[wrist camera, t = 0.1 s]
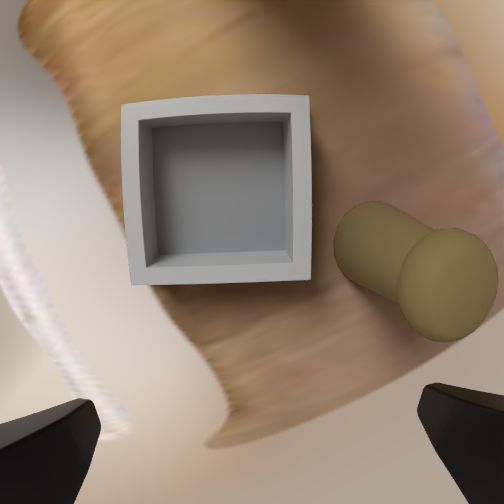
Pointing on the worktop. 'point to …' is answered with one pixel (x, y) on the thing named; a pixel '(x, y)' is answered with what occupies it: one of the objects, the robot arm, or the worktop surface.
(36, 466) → the robot arm
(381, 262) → the cork
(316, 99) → the worktop surface
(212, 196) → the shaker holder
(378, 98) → the worktop surface
